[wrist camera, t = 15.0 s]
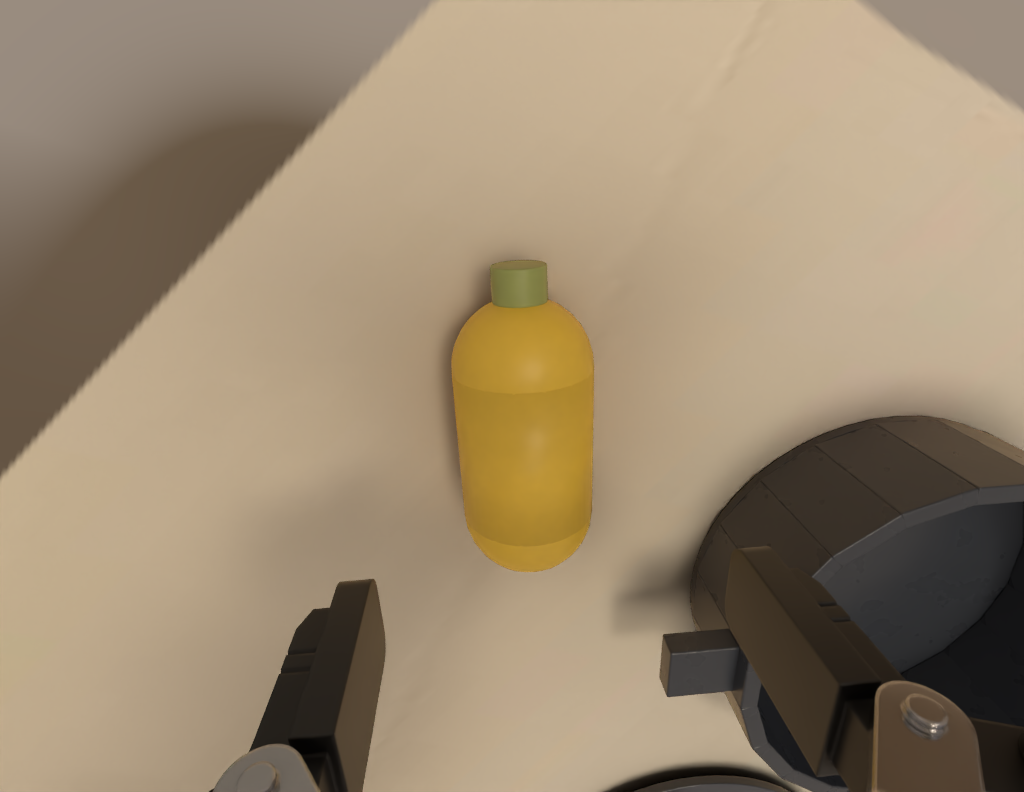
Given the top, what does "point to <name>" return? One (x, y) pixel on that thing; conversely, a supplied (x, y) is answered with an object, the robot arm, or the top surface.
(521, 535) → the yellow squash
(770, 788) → the lid
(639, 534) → the top surface
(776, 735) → the pan
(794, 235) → the top surface
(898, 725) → the robot arm
